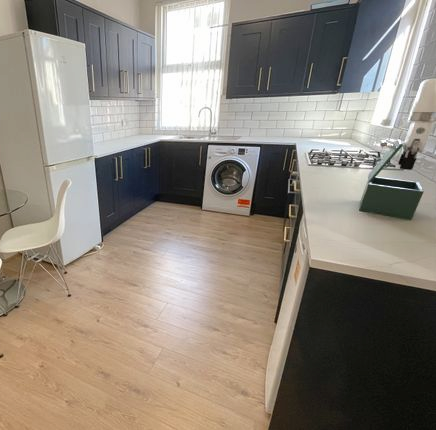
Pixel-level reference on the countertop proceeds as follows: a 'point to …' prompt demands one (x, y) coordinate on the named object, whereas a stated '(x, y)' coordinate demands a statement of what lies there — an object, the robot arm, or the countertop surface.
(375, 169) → the bin lid
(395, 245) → the countertop surface
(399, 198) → the bin
